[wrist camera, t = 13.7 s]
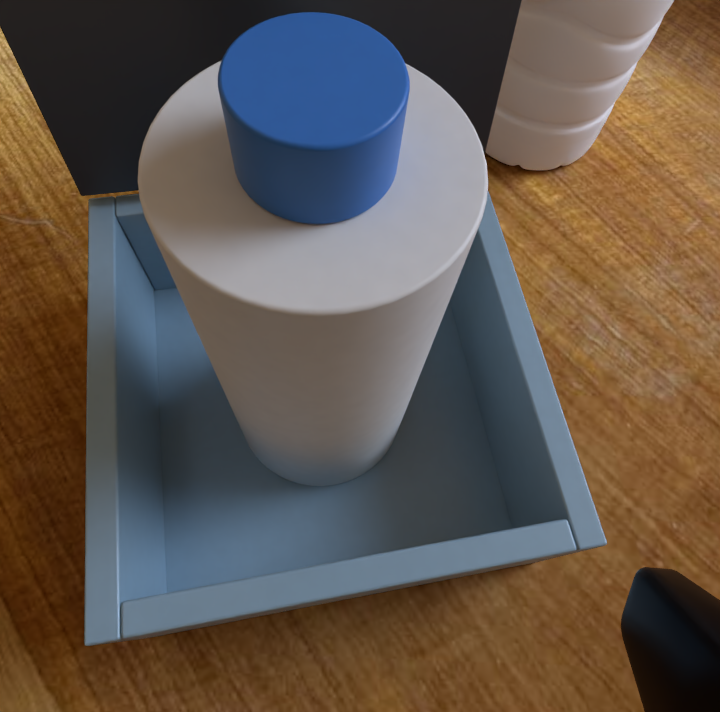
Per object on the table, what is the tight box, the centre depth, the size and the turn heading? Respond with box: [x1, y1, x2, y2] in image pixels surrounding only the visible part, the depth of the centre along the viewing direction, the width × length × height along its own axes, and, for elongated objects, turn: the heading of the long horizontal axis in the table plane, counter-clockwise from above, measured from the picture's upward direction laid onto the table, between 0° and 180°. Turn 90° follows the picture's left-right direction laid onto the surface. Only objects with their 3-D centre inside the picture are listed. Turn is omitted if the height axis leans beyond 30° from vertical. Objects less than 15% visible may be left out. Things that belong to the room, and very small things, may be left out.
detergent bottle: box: [138, 12, 488, 486], centre depth 14 cm, size 6×6×14 cm
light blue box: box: [84, 192, 607, 646], centre depth 18 cm, size 13×13×5 cm
